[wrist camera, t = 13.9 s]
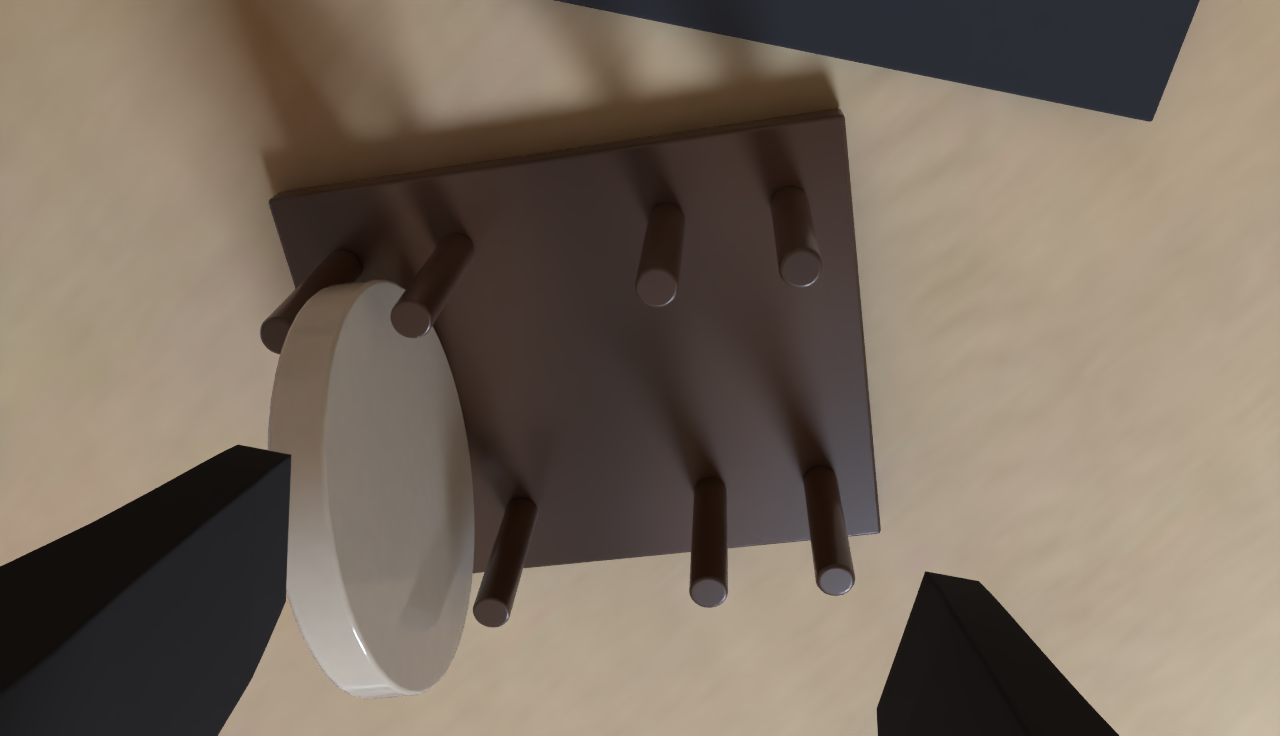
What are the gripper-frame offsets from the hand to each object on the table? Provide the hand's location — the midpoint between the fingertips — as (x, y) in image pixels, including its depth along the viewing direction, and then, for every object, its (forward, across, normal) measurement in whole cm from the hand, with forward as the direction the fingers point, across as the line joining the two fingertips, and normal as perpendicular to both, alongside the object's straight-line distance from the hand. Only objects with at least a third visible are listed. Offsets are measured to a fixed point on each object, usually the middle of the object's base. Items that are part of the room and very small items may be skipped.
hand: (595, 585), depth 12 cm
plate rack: (+10, +1, +2) cm, 11 cm away
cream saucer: (+6, +4, +3) cm, 8 cm away
